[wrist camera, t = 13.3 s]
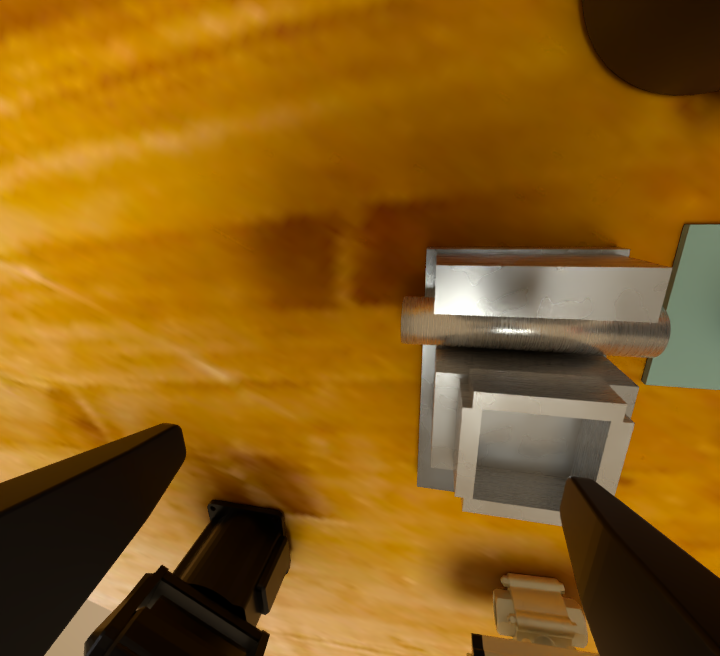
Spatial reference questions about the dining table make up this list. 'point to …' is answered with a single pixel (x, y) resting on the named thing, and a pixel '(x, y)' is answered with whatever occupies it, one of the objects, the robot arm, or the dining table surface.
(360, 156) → the dining table surface
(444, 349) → the bracket
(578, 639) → the pneumatic valve
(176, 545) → the dining table surface
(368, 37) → the dining table surface
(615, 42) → the mug
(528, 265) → the clamp base
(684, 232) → the mat
